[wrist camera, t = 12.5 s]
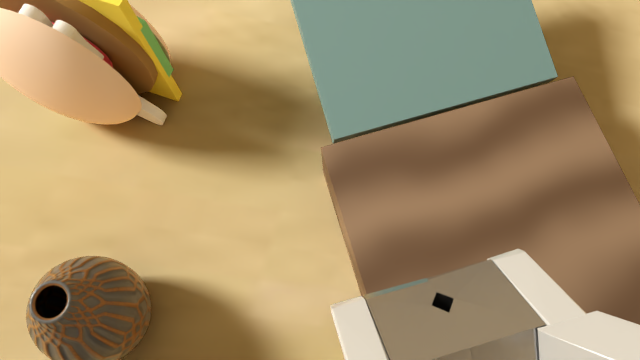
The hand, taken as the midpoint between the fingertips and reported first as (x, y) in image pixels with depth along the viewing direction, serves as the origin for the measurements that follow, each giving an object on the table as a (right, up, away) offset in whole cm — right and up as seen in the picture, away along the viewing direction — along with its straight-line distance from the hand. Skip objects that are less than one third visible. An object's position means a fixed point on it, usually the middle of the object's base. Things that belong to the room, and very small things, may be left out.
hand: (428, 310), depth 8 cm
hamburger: (-19, +9, +36) cm, 41 cm away
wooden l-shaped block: (+10, -3, +30) cm, 31 cm away
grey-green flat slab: (+7, +7, +29) cm, 31 cm away
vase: (-16, -8, +29) cm, 34 cm away
